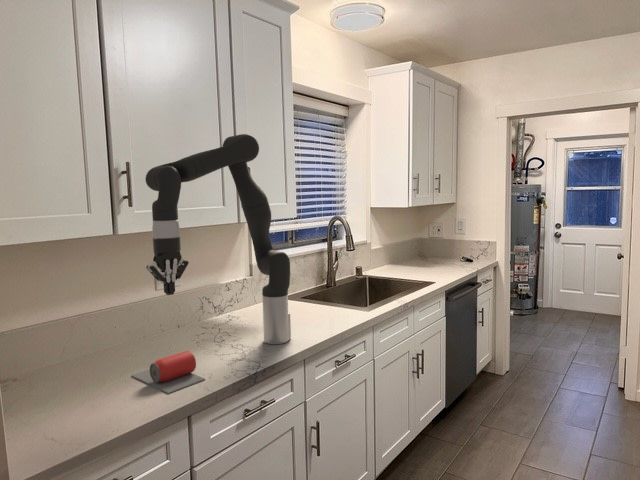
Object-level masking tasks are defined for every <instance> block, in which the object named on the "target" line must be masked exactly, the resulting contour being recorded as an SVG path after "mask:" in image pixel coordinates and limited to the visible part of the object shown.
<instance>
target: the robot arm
mask: <svg viewBox="0 0 640 480" xmlns="http://www.w3.org/2000/svg"><path fill="white" fill-rule="evenodd" d="M259 152H260V144H259V141H258V140H257V138H256V137H255V136H253V135H251V134H247V133H242V134H241V133H240V134H236V135H231V136H228V137H226V138H225V139H224V140H223V143H222V146H221V147H220V146H219V147H216V148H213V149H209V150H205V151H201V152H196V153H194V154H192V155H191V154H190V155H188V156H185V157H183V158H180V159H178V160H176V161H173V162H169V163H164V164H160V165H156V166H154V167H152V168H151V169H149V170H148V171H147V172H146V175H145V183H146V185H147V187H148V188H149V189H150V190H152V191H155V192H158V194H157V199H156V200H154V201H153V202H152V204H151V205H152V206H151V212H152V230H151V232H152V245H153V246H152V247H153V254H154V256H153V261H152V262H151V263H150V265H146V267H145V268H146V269H147V271H148V272H149V273H150V274H151V275H152V276H153V277H154V279H155V280H156V281H158V282H162V283H163V292H164V294H165V295H166V296H173V295H174V294H175V292H176V283H175V282H176V281H177V280H178V279H181V278H182V276H183V274H184V272H185V270H186V269H187V267H188V266H189V261H188V260H185V259H183V258H182V257H183V255H182V254H181V249H182V248H181V232H180V231H181V230H180V225H179V214H178V210H179V209H178V204H179V200H180V195H181V194H180V193H181V188H182V183H188V182H192V181H194V180H197V179H199V178H202V177H204V176H206V175H209V174H211V173H213V172H216V171H219V170H220V169H223V168H225V167H228V169H229V172H230V175H231V177H232V179H233V182H234V184H235V188H236V191H237V195H238V197H239V201H240V203H241V209H242V211H243V215H244V219H245V221H246V223H247V228H248V231H249V234H250V238H251V241H252V246H253V251H254V256H255V262H256V266H257V269H258V270H259V272H260V273H261V274H263V275H266V276H268V284H267V285H264V286H263V287H262V289H261V290H262V292H261V293H262V319H263V321H262V323H263V327H262V328H263V342H264V343H265V344H269V345H282V344H285V343H288V342H289V341H290V340H291V339H292V333H291V332H292V330H291V329H292V327H291V314H290V313H289V293H288V292H289V288H290V285H291V261H290V258H289V256H288V254H287V253H286V252H283V251H280V250H275V249H274V248H273V244H272V241H271V238H270V229H271V224H272V210H271V206H270V202H269V200H268V197H267V195H266V193H265V191H264V190H263V189H262V188H261V186H260V185H259V184H258V183H257V181H256V179H254V177H253V175H252V174H251V172H250V169H249V166H248V163H249V162H251V161H254V160H255V159H256V158H257V157H258V155H259ZM158 269H159V270H158Z"/></svg>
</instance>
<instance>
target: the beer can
mask: <svg viewBox="0 0 640 480" xmlns="http://www.w3.org/2000/svg"><path fill="white" fill-rule="evenodd" d="M196 368H197V360H196V358H195V355H194V354H193V353H192V352H191V351H189V350H185V351H181V352H178V353H176V354H172V355H169V356H166V357H163V358H160V359H157V360H156V361H154V362H152V363H151V364H150V366H149V369H150V375H151V378H152V380H153V381H154V382H156V383H157V382H166V381H169V380H171V379H174V378H177V377H180V376H183V375H186V374H189V373H193V372H195V371H196Z"/></svg>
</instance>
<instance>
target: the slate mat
mask: <svg viewBox="0 0 640 480" xmlns="http://www.w3.org/2000/svg"><path fill="white" fill-rule="evenodd" d="M131 377H132V378H134V379H136V380H139V381H140V382H143V383H144V384H146V385H149V386H150V387H153V388H155V389H157V390H159V391H161V392H163V393H165V394H168V395H170V394H173V393H176V392H178V391H181V390H183V389H185V388H188V387H190V386H191V387H192V386H193V385H196V384H199V383H200V382H203V381H205V380H206V378H204V377H201V376H200V375H197V374H195V373H193V372H191V373H189V374H186V375H183V376H180V377H177V378H174V379H171V380H169V381H166V382H157V383H156V382H154V381H153V380H152V378H151V375H150V368H149V369H146V370H144V371H140V372H136V373H134V374H131Z"/></svg>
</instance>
